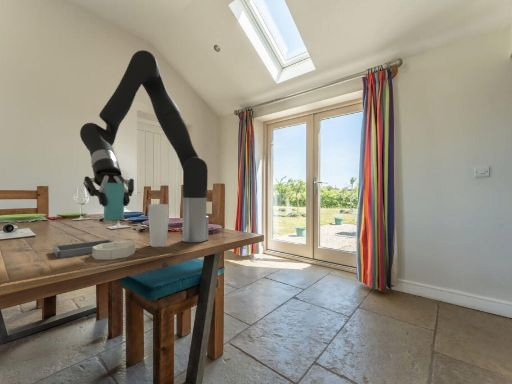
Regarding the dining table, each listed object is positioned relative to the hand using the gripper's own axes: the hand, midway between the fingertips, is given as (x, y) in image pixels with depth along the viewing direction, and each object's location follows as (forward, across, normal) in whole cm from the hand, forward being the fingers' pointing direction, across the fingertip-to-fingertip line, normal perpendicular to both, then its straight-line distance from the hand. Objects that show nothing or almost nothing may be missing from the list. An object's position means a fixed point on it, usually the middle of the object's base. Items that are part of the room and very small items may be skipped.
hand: (116, 204), depth 72 cm
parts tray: (+3, -5, +20) cm, 21 cm away
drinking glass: (+8, +15, +15) cm, 23 cm away
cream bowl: (+10, 0, +12) cm, 16 cm away
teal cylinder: (+2, 0, +5) cm, 5 cm away
